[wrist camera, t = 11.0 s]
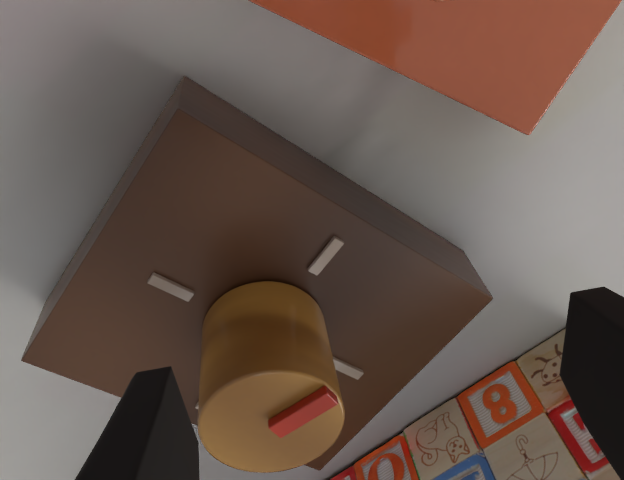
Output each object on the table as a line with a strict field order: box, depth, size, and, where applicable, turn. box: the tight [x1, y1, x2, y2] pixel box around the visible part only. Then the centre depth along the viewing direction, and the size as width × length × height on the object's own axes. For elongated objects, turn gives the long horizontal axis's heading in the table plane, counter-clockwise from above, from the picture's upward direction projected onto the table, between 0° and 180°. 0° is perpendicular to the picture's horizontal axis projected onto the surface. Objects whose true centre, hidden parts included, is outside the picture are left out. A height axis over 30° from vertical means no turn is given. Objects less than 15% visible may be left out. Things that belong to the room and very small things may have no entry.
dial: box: [198, 281, 345, 473], centre depth 18 cm, size 4×4×4 cm
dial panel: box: [21, 76, 493, 470], centre depth 21 cm, size 12×10×3 cm
